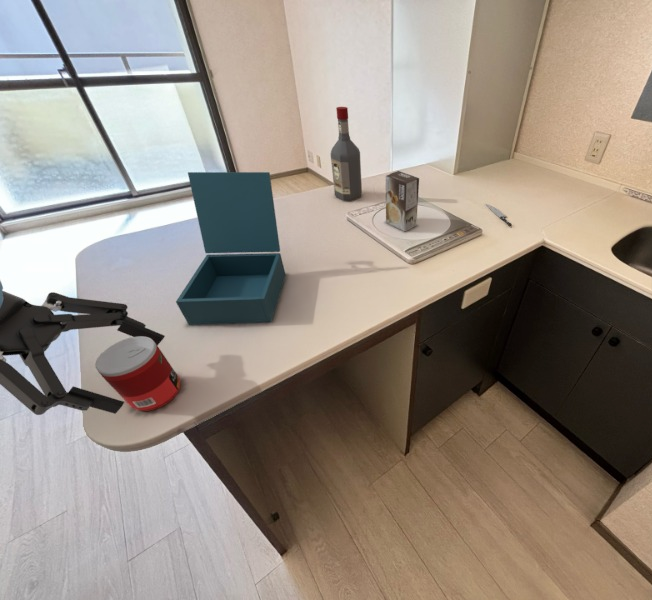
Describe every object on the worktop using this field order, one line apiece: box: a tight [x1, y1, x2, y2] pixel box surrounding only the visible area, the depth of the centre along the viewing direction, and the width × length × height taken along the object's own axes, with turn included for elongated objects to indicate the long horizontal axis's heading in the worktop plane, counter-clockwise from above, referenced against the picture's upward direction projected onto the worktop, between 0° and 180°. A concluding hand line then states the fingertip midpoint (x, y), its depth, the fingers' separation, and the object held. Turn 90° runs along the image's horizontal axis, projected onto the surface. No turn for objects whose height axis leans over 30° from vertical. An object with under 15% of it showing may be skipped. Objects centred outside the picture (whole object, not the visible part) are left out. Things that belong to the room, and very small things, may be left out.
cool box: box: [175, 252, 287, 326], centre depth 77 cm, size 18×18×7 cm
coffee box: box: [385, 170, 420, 232], centre depth 105 cm, size 9×6×16 cm
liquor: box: [330, 106, 363, 202], centre depth 116 cm, size 9×9×30 cm
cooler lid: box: [187, 171, 281, 254], centre depth 79 cm, size 19×18×5 cm
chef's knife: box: [485, 203, 513, 227], centre depth 117 cm, size 19×1×3 cm
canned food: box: [94, 336, 181, 412], centre depth 55 cm, size 8×8×11 cm
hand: (142, 371), depth 55 cm, fingers open, 13 cm apart
